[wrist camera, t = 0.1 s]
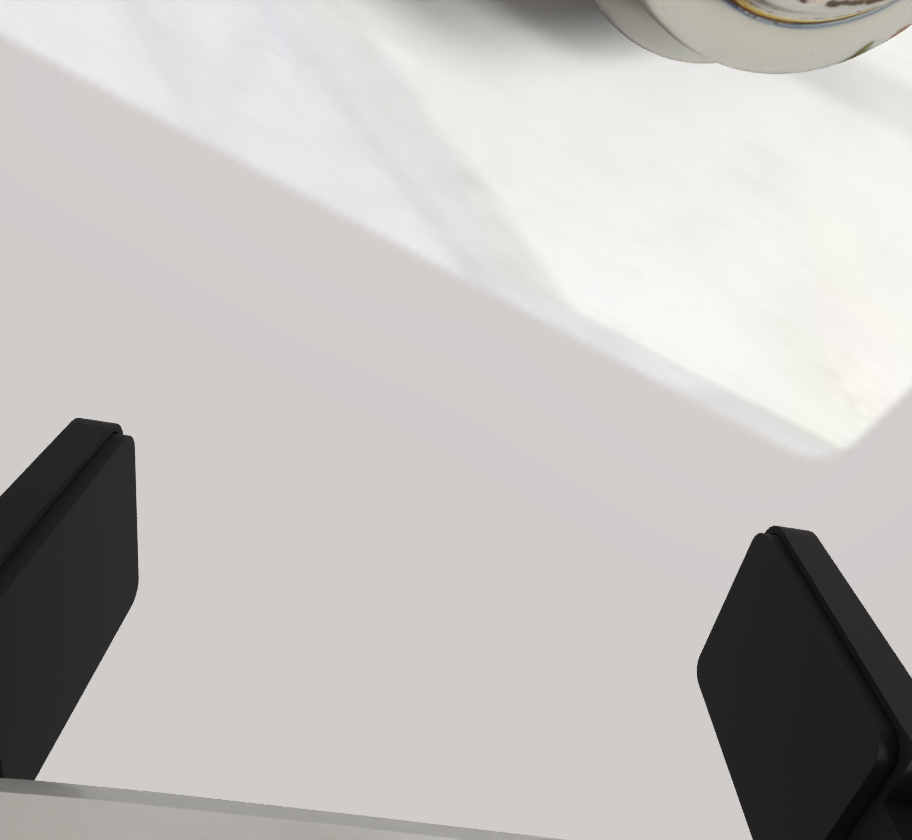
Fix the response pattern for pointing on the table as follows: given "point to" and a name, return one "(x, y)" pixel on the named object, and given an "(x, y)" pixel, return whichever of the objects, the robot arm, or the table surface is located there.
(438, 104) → the table surface
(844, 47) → the apothecary jar
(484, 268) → the table surface
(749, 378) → the table surface
